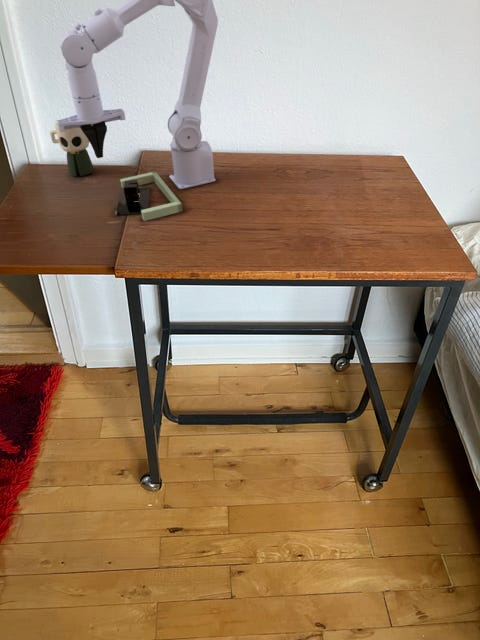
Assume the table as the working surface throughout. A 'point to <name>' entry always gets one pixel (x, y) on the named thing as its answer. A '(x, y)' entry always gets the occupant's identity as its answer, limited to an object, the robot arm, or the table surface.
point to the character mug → (74, 149)
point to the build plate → (132, 199)
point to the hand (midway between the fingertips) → (99, 156)
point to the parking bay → (166, 208)
